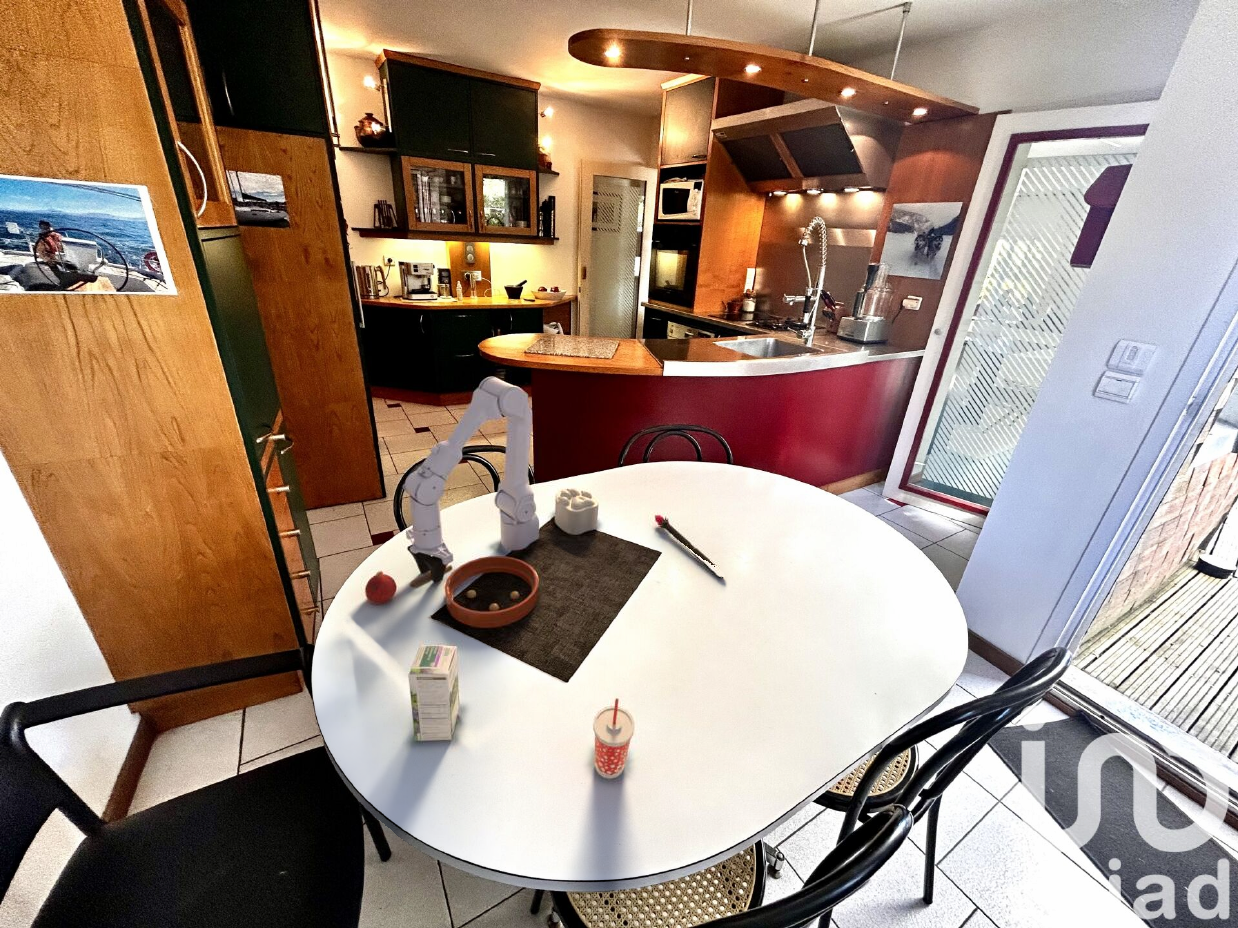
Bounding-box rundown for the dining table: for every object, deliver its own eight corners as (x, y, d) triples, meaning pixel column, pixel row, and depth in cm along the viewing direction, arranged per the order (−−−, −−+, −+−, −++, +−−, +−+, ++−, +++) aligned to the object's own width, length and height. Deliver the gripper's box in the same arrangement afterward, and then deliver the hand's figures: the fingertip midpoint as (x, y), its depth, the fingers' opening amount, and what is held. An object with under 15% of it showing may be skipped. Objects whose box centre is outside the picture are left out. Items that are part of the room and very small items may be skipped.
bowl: (498, 563, 119) (498, 546, 117) (556, 599, 109) (556, 581, 107) (427, 602, 105) (426, 583, 103) (486, 648, 94) (485, 628, 92)
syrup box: (424, 709, 81) (417, 643, 75) (461, 709, 82) (456, 643, 76) (414, 741, 76) (405, 673, 70) (453, 741, 77) (448, 673, 71)
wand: (719, 573, 118) (649, 510, 140) (716, 586, 120) (647, 522, 142) (732, 569, 120) (661, 507, 142) (729, 581, 122) (659, 519, 144)
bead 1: (472, 594, 107) (472, 586, 107) (478, 598, 106) (477, 590, 105) (464, 598, 106) (464, 591, 105) (470, 602, 105) (470, 595, 104)
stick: (448, 568, 115) (448, 560, 114) (455, 573, 114) (454, 564, 113) (407, 589, 108) (406, 580, 107) (414, 594, 106) (413, 585, 105)
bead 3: (515, 595, 108) (515, 588, 107) (521, 599, 107) (521, 592, 106) (508, 599, 107) (507, 592, 106) (514, 604, 106) (514, 596, 105)
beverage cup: (597, 739, 79) (603, 677, 73) (633, 752, 78) (642, 689, 72) (583, 775, 74) (589, 710, 68) (622, 789, 72) (631, 724, 66)
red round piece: (386, 615, 100) (382, 583, 97) (361, 609, 101) (356, 578, 98) (403, 597, 105) (399, 566, 102) (379, 591, 106) (374, 561, 103)
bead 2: (494, 607, 104) (494, 599, 103) (500, 611, 103) (500, 604, 102) (487, 612, 103) (486, 604, 102) (493, 616, 102) (493, 609, 101)
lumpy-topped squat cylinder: (570, 536, 132) (571, 509, 128) (546, 515, 141) (547, 488, 137) (601, 526, 138) (603, 499, 134) (576, 506, 147) (578, 480, 143)
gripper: (390, 518, 105) (397, 570, 111) (430, 545, 98) (435, 599, 103) (420, 507, 111) (425, 557, 116) (460, 532, 103) (463, 584, 109)
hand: (431, 576), depth 110 cm, fingers open, 4 cm apart
